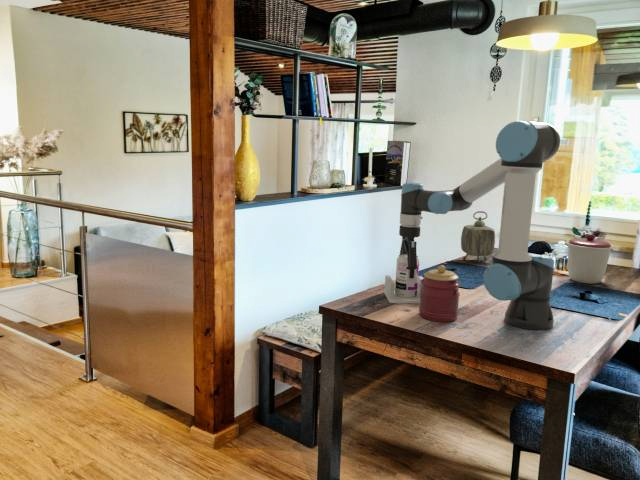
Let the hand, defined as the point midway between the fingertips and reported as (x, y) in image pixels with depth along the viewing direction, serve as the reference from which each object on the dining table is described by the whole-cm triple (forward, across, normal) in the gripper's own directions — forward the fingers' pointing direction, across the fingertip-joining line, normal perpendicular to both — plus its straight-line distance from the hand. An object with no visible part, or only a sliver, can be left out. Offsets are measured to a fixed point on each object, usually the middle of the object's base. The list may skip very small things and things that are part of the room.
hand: (406, 281), depth 207 cm
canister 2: (+6, +31, -85) cm, 91 cm away
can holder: (+6, 0, 0) cm, 6 cm away
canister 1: (+7, -21, -7) cm, 23 cm away
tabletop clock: (+6, +65, -48) cm, 81 cm away
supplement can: (+5, 0, 0) cm, 5 cm away
